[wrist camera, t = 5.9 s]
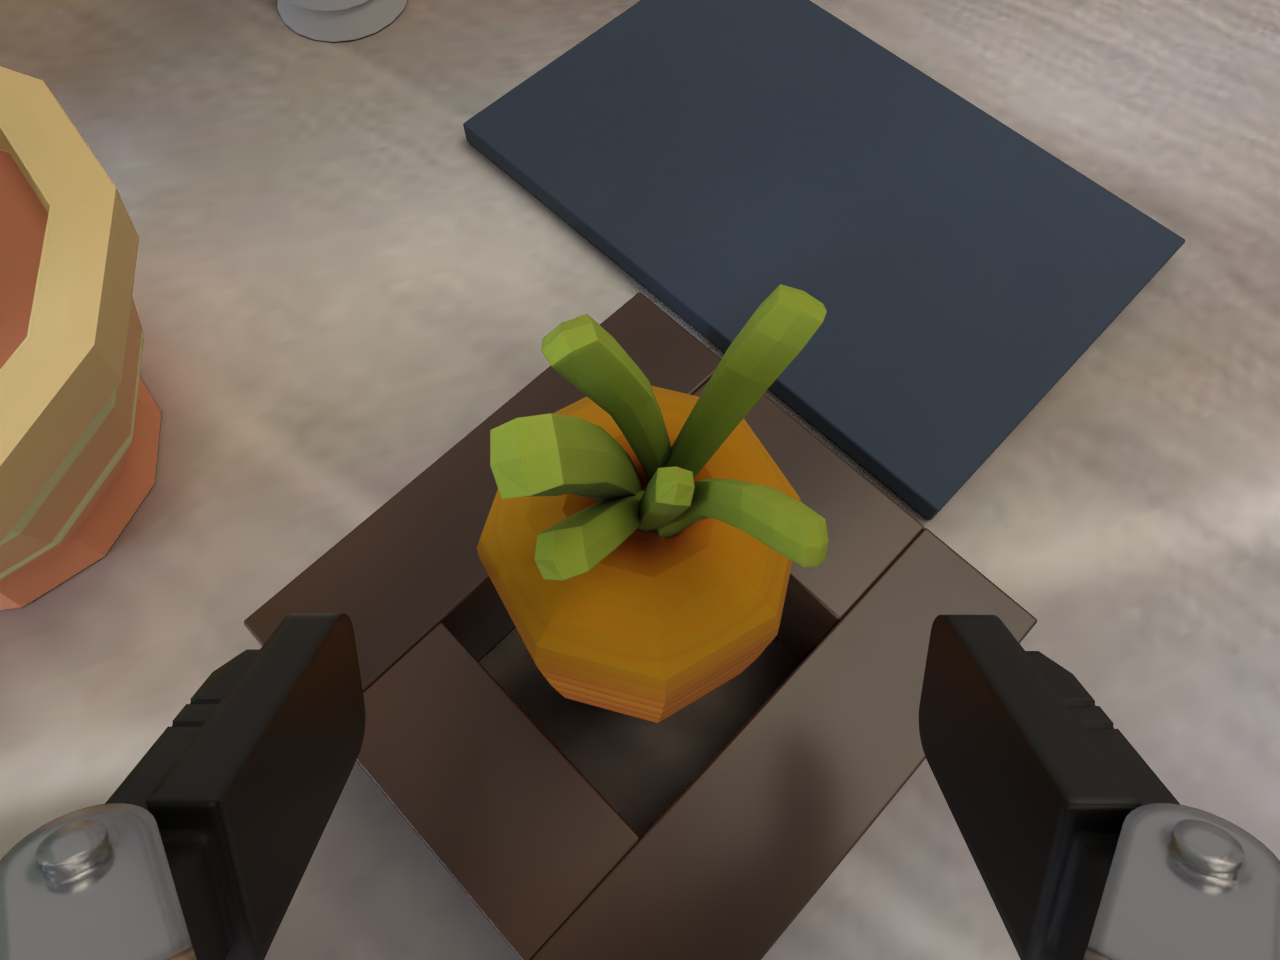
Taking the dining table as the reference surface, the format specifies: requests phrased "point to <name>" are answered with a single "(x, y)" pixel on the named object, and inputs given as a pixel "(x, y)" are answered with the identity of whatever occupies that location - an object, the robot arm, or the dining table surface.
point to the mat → (832, 220)
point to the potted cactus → (64, 352)
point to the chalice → (338, 17)
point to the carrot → (650, 519)
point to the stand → (730, 783)
